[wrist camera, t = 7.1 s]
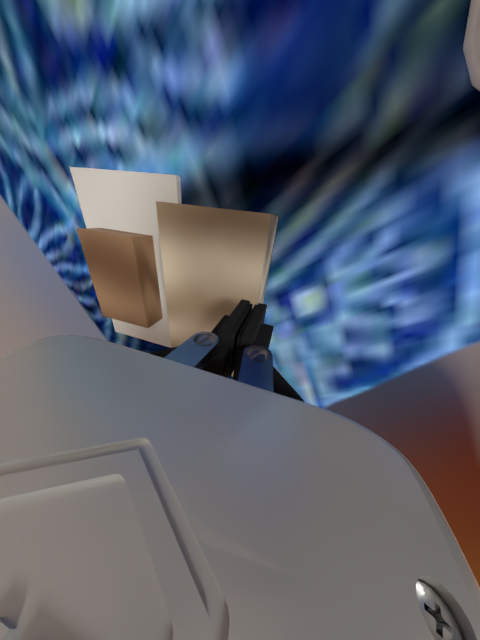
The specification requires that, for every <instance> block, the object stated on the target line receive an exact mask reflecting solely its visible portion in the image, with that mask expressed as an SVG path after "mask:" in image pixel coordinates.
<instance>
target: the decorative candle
mask: <svg viewBox="0 0 480 640" xmlns="http://www.w3.org/2000/svg"><path fill="white" fill-rule="evenodd" d="M462 49H463V53H464V57H465V61H466V65H467V69H468V73H469V77H470V81H471V85H472V86H473V87H475V88H476V89H477V90H478V91H480V0H471V2H470V8H469V14H468V20H467V25H466V31H465V37H464V42H463V48H462Z"/></svg>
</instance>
